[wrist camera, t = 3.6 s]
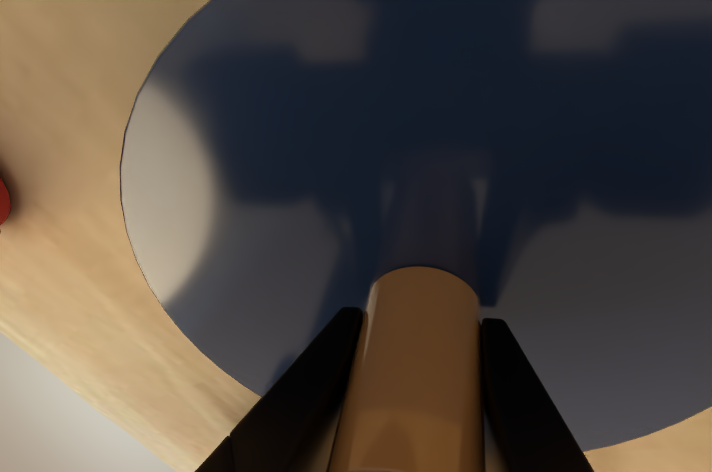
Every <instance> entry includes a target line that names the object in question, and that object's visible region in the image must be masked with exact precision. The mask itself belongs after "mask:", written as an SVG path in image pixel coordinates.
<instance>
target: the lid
mask: <svg viewBox="0 0 712 472" xmlns="http://www.w3.org/2000/svg"><path fill="white" fill-rule="evenodd" d="M120 197H121V205H122V210H123V216H124V221H125V226H126V231H127V234H128V237H129V240H130V243H131V246H132V249H133V252H134V255H135V258H136V261H137V263H138V265H139V267H140V269H141V271H142V273H143V275H144V277H145V279H146V281H147V283H148V285H149V287H150V288H151V290H152V292H153V293H154V295H155V296H156V298H157V299H158V301H159V302H160V304H161V306H162V307H163V309H164V310H165V311H166V313H167V314H168V315H169V316H170V318H171V319H172V320H173V321H174V323H175V324H176V325H177V326H178V328H179V329H180V330H181V331H182V333H183V334H184V335H185V336H186V337H187V338H188V339H189V340H190V341H191V342H192V343H193V344H194V345H195V346H196V347H197V348H198V349H199V350H200V351H201V352H202V353H203V354H204V355H205V356H207V357H208V358H209V359H210V360H211V361H212V362H214V363H215V364H216V365H217V366H218V367H219V368H221V369H222V370H223V371H224V372H226V373H227V374H228V375H230V376H231V377H232V378H234V379H235V380H237V381H238V382H239V383H241V384H242V385H243V386H245V387H246V388H248V389H250V390H251V391H253V392H254V393H256V394H258V395H259V396H261V397H262V396H263V395H264V394H265V393H266V392H267V391H268V390H269V389H270V387H271V386H272V385H273V384H274V383H275V382H276V381H277V380H278V378H279V377H280V376H281V375H282V374H283V373H284V372H285V371H286V369H287V368H288V367H289V366H290V365H291V364H292V363H293V361H294V360H295V359H296V358H297V357H298V356H299V355H300V354H301V352H302V351H303V350H304V349H305V348H306V347H307V346H308V345H309V343H310V342H311V341H312V340H313V339H314V338H315V337H316V336H317V334H318V333H319V332H320V331H321V330H322V329H323V328H324V327H325V325H326V324H327V323H328V322H329V321H330V320H331V319H332V318H333V316H334V315H335V314H336V313H337V312H338V311H339V310H340V309H341V308H342V307H344V306H348V307H359V308H361V309H362V312H363V318H362V322H361V326H360V330H359V334H358V339H357V343H356V347H355V351H354V355H353V360H352V364H351V368H350V372H349V376H348V380H347V385H346V389H345V393H344V397H343V401H342V406H341V410H340V414H339V418H338V422H337V426H336V431H335V435H334V439H333V443H332V447H331V451H330V456H329V460H328V464H327V468H326V472H486V453H485V422H484V392H483V367H482V336H481V323H482V320H483V319H484V318H496V319H503V320H504V321H505V322H506V323H507V325H508V327H509V328H510V330H511V332H512V333H513V335H514V337H515V338H516V340H517V342H518V343H519V345H520V347H521V349H522V350H523V352H524V354H525V355H526V357H527V359H528V360H529V362H530V364H531V365H532V367H533V369H534V371H535V372H536V374H537V376H538V377H539V379H540V381H541V382H542V384H543V386H544V387H545V389H546V391H547V393H548V394H549V396H550V398H551V399H552V401H553V403H554V404H555V406H556V408H557V409H558V411H559V413H560V414H561V416H562V418H563V420H564V421H565V423H566V425H567V426H568V428H569V430H570V431H571V433H572V435H573V436H574V438H575V440H576V442H577V443H578V445H579V447H580V448H581V450H582V452H584V451H589V450H593V449H598V448H603V447H607V446H612V445H616V444H619V443H622V442H626V441H629V440H633V439H636V438H639V437H643V436H646V435H649V434H651V433H654V432H656V431H659V430H661V429H664V428H667V427H669V426H672V425H674V424H677V423H679V422H681V421H683V420H685V419H687V418H689V417H691V416H693V415H695V414H697V413H699V412H701V411H703V410H705V409H707V408H709V407H711V406H712V0H210V1H208V2H207V3H206V4H205V5H204V6H203V7H201V8H200V9H199V10H198V11H197V12H196V13H194V14H193V15H192V16H191V17H190V18H188V20H187V21H186V22H185V23H184V24H183V26H182V27H181V28H180V29H179V31H178V32H177V33H176V34H175V36H174V37H173V38H172V39H171V40H170V42H169V43H168V44H167V45H166V47H165V48H164V49H163V50H162V51H161V53H160V54H159V55H158V57H157V58H156V60H155V62H154V64H153V66H152V68H151V69H150V71H149V73H148V75H147V77H146V78H145V80H144V82H143V84H142V86H141V88H140V89H139V91H138V93H137V96H136V99H135V102H134V105H133V108H132V111H131V114H130V117H129V120H128V123H127V126H126V129H125V133H124V140H123V147H122V154H121V161H120Z"/></svg>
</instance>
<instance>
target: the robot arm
mask: <svg viewBox="0 0 712 472" xmlns="http://www.w3.org/2000/svg"><path fill="white" fill-rule="evenodd" d="M362 318H363V312H362V309H361V308H359V307H348V306H344V307H342V308H341V309H340V310H339V311H338V312H337V313H336V314H335V315H334V316H333V318H332V319H331V320H330V321H329V322H328V323H327V324H326V325H325V327H324V328H323V329H322V330H321V331H320V332H319V333H318V334H317V336H316V337H315V338H314V339H313V340H312V341H311V342H310V343H309V345H308V346H307V347H306V348H305V349H304V350H303V351H302V352H301V354H300V355H299V356H298V357H297V358H296V359H295V360H294V361H293V363H292V364H291V365H290V366H289V367H288V368H287V369H286V371H285V372H284V373H283V374H282V375H281V376H280V377H279V378H278V380H277V381H276V382H275V383H274V384H273V385H272V386H271V387H270V389H269V390H268V391H267V392H266V393H265V394H264V395H263V396H262V398H261V399H260V400H259V401H258V402H257V403H256V404H255V405H254V407H253V408H252V409H251V410H250V411H249V412H248V413H247V414H246V416H245V417H244V418H243V419H242V420H241V421H240V422H239V424H238V425H237V426H236V427H235V428H234V429H233V430H232V431H231V433H230V436H227V437H226V438H225V439H224V440H223V441H222V442H221V444H220V445H219V446H218V447H217V448H216V449H215V450H214V451H213V453H212V454H211V455H210V456H209V457H208V458H207V459H206V460H205V461H204V462H203V463H202V464H201V465H200V467H199V468H198V469H197V470H196V471H195V472H326V468H327V464H328V460H329V456H330V451H331V447H332V443H333V439H334V435H335V431H336V426H337V422H338V418H339V414H340V410H341V406H342V401H343V397H344V393H345V389H346V385H347V380H348V376H349V372H350V368H351V364H352V360H353V355H354V351H355V347H356V343H357V339H358V334H359V330H360V326H361V322H362ZM481 336H482V367H483V392H484V422H485V453H486V472H594V470H593V469H592V467H591V465H590V464H589V462H588V460H587V458H586V457H585V455H584V453H583V452H582V450H581V448H580V447H579V445H578V443H577V442H576V440H575V438H574V436H573V435H572V433H571V431H570V430H569V428H568V426H567V425H566V423H565V421H564V420H563V418H562V416H561V414H560V413H559V411H558V409H557V408H556V406H555V404H554V403H553V401H552V399H551V398H550V396H549V394H548V393H547V391H546V389H545V387H544V386H543V384H542V382H541V381H540V379H539V377H538V376H537V374H536V372H535V371H534V369H533V367H532V365H531V364H530V362H529V360H528V359H527V357H526V355H525V354H524V352H523V350H522V349H521V347H520V345H519V343H518V342H517V340H516V338H515V337H514V335H513V333H512V332H511V330H510V328H509V327H508V325H507V323H506V322H505V321H504V320H503V319H496V318H484V319H483V320H482V323H481Z"/></svg>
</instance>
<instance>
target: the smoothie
mask: <svg viewBox="0 0 712 472" xmlns="http://www.w3.org/2000/svg"><path fill="white" fill-rule="evenodd" d="M10 209H11V205H10V199H9V193H8V191H7V189H6V187H5V185H4V183H3V181H2V179H1V177H0V225H1V224H2V223H3V222H4V221H5V220H6V219H7V217H8V214H9V212H10ZM0 232H1V231H0Z"/></svg>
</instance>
